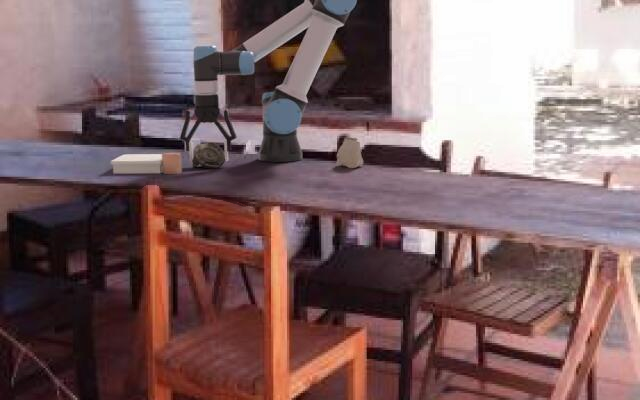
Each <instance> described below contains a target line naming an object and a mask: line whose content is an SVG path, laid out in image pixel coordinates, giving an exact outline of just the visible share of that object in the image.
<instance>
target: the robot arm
mask: <svg viewBox="0 0 640 400" xmlns="http://www.w3.org/2000/svg"><path fill="white" fill-rule="evenodd" d="M357 1H358V0H304V2H303V3H301V4H300V5H298V6H296V7H295V8H294V9H292V10H291V11H289V12H288V13H286V14H285V15H283V16H282V17H280V18H279V19H277V20H275V21H274V22H273V23H271V24H269V25H268V26H267V27H265V28H264V29H263V30H261V31H259V32H258V33H256V34H255V35H253V36H251V38H249V39H247V40H246V41H244V42H243V43H242V44H240V45H239V46H237V47H235V48H234V49H231V50H230V51H218V49H217V48H218V47H217V46H216V45H197V46H195V47H194V48H193V76H194V77H193V79H194V81H193V82H194V93H195V96H194V101H195V105H194V107H195V109H193V110H190V109H188V110H186V111H185V120H184V123H183V127H182V129H181V133H180V135H179V136H180V137H179V140H180V141H181V140H182V141H185V151H186V152H189V162H190V163H191V162H192V163H193V157H194V144H193V143H194V141H193V140H191V139H192V138H193V136H194V134H195V132H197V129H198V128H199V126H200V125H201V124H205V123H206V124H207V123H209V124H211V123H213V124H214V125H215V126H216V127H217V129H218V130H219V132H220V133H221V134H222V136H223V137H224V139H225V141H224V142H223V143H224V146H223V147H224V156H225V162H229V152H231V151H232V141H233V140H236V139H237V134H236V131H235V129H234V126H233V124H232V121H231V118H230V112H229V109H220V105H219V103H220V102H219V94H218V93H219V80H218V76H238V75H239V76H247V75H253V74H254V73H255V63H257V62H258V61H259V60H261V59H263V58H264V57H265V56H267V55H269V54H270V53H271V52H273V51H274V50H276V49H278V48H279V47H281V46H282V45H283V44H285V43H287V42H288V41H290V40H291V39H293V38H294V37H296V36H297V35H299V34H300V33H302V32H303V31H304V30H306V29H307V30H306V32H305V34H304V36H303V38H302V41H301V42H300V45H299V47H298V50H297V52H296V54H295V55H294V58H293V61H292V62H291V64H290V66H289V69H288V71H287V72H286V75H285V78H284V80H283V82H282V83H281V84H279V85H277V86H276V87H275V88H274V90H273V91H271V92H265V93H263V94H262V99H261V104H262V135H263V136H262V141H261V144H260V147H259V151H258V160H259V161H260V162H261V161H262V162H270V163H284V162H285V163H286V162H296V161H300V160H302V159H303V150H302V148H301V145H300V142H299V139H298V131H297V129H298V128H299V126H300V125H301V123H302V118H303V114H304V112H305V109H306V107H307V105H308V103H309V101H308V98H307V94H308V92H309V90H310V87H311V86H312V83H313V81H314V79H315V77H316V74H317V72H318V71H319V69H320V67H321V64H322V63H323V60H324V57H325V55H326V54H327V51H328V49H329V47H330V45H331V42H332V40H333V38H334V36H335V34H336V31H337V30H338V28H341V27H344V26H345V23H346V21H347V20H348V18H349V15H350V13H351V11H352V10H354V8H355V7H356V5H357ZM194 115H195V116H196V118H197V120H196V121H195V123H194V124H193V126H192V128H191V130H190V131H189V133H188V134H187V132H188V129H189V127H190V126H189V125H190V122H191V119H192V117H193V116H194ZM220 115H221V116H222V117H223V118H224V121H225V124H226V126H227V129H228V131H227V129H225V127H224V126H223V124H222V123H221V121H220V119H219V118H218V117H219V116H220ZM229 134H230V135H229ZM186 135H187V136H186Z"/></svg>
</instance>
